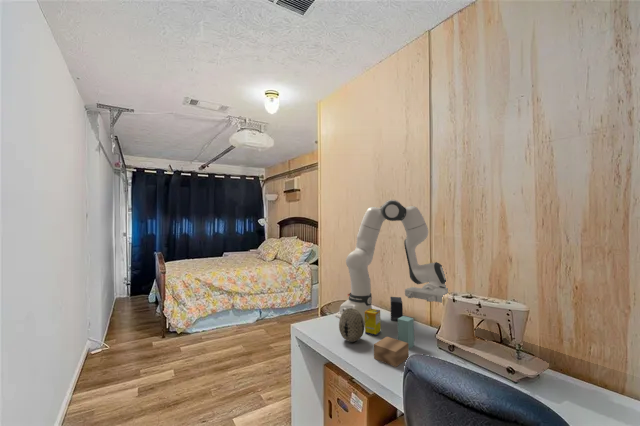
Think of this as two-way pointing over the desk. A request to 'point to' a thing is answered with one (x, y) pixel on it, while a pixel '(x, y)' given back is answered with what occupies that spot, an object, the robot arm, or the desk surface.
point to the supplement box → (372, 322)
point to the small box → (396, 308)
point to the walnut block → (391, 351)
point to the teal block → (406, 330)
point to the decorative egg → (351, 325)
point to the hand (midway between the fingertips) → (418, 298)
